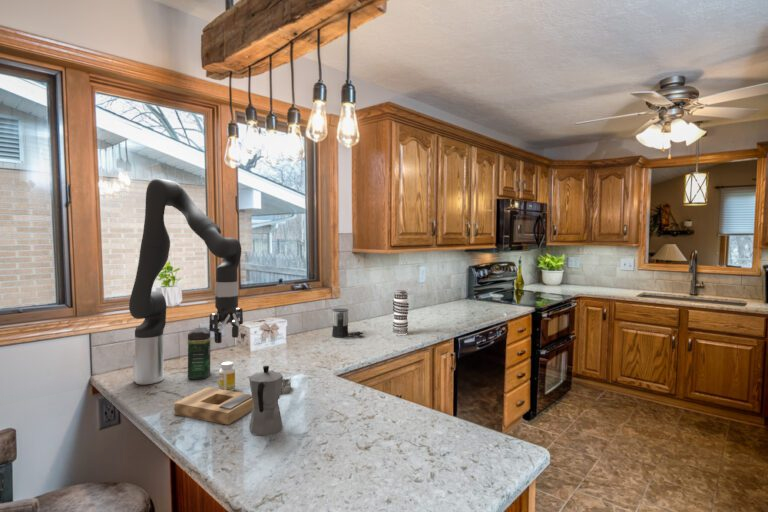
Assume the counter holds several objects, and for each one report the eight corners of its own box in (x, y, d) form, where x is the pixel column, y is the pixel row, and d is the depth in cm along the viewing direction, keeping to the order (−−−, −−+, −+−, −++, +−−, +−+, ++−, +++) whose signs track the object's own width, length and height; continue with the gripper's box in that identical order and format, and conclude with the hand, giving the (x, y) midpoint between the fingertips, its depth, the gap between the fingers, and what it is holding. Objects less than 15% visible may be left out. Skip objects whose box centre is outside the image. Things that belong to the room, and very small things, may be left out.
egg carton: (257, 395, 141) (257, 383, 141) (263, 387, 149) (263, 376, 149) (288, 394, 142) (288, 383, 142) (292, 387, 149) (292, 375, 149)
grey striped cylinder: (390, 332, 236) (390, 289, 235) (405, 331, 239) (405, 289, 238) (395, 336, 228) (395, 291, 227) (410, 335, 230) (411, 291, 229)
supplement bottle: (216, 392, 142) (216, 365, 142) (221, 387, 147) (221, 361, 147) (232, 392, 143) (232, 365, 142) (236, 386, 148) (236, 360, 148)
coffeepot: (254, 418, 122) (254, 359, 121) (286, 417, 123) (286, 358, 122) (241, 444, 107) (241, 376, 106) (277, 443, 108) (278, 376, 107)
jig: (174, 414, 125) (174, 401, 124) (208, 397, 138) (208, 386, 138) (227, 424, 118) (227, 411, 118) (258, 406, 131) (258, 394, 131)
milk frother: (329, 334, 230) (329, 308, 229) (355, 332, 237) (356, 307, 236) (337, 340, 217) (337, 312, 217) (365, 337, 224) (365, 311, 223)
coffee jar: (208, 379, 156) (208, 330, 155) (185, 380, 153) (185, 331, 153) (212, 371, 165) (212, 325, 164) (190, 372, 163) (190, 326, 162)
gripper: (231, 291, 152) (231, 334, 152) (203, 296, 138) (203, 343, 139) (248, 292, 149) (248, 336, 150) (221, 297, 136) (221, 346, 136)
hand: (226, 340), depth 144 cm, fingers open, 8 cm apart
